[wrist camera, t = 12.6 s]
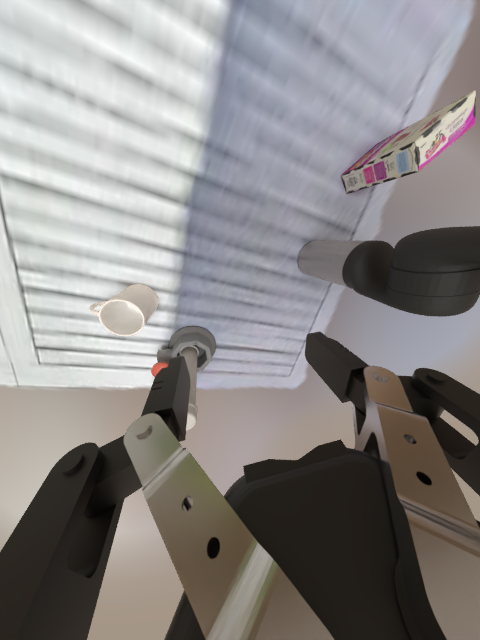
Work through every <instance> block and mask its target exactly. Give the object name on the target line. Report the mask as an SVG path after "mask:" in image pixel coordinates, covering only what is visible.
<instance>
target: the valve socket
mask: <svg viewBox="0 0 480 640" xmlns="http://www.w3.org/2000/svg"><path fill="white" fill-rule="evenodd" d="M191 345H197V346H198V348H199V355H198V357H197V371H201V370H203V369H204V368H205V367H206V366H207V365H208V364H209V363H210V362H211V360H212V356H213V354H214V352H215V349H216V343H215V339H214V337H213V335H212V334H211V333H210V332H209V331H208V330H206V329H205V328H202V327H199V326H187V327H184V328H181V329H179V330H178V331H176V332H175V333H174V334H173V336H172V337H171V339H170V342H169V349H163V350H159V351H158V353H157V360H158V363H156V364H155V365H154V366H153V367H152V370H151V372H152V375H153V376H154V377H155V376H156V375H157V373H158V372H159V371H160V370H161V369H162V368H166V367H168V364H169V360H170V358H173V357H179V356H180V350H181V349H182V348H183V347H185V346H191Z"/></svg>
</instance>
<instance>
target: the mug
mask: <svg viewBox="0 0 480 640" xmlns="http://www.w3.org/2000/svg"><path fill="white" fill-rule="evenodd" d="M158 304H159V301H158V297H157V295H156V293H155V292H154V291H153V290H152V289H151V288H149V287H147V286H145V285H141V284H134V285H130V286H128V287H127V288H126V289H125V290H124V291H123V292H121V293H120V294H118V295H117V296H115V297H113V298H112V299H110V300H109V301H103V302H98V303H95V304H93V305H91V306H90V312H91V313H93V314H95V315H99V320H100V322H101V324H102V325H103V327H104V328H105V329H107V330H108V331H109V332H111V333H113V334H116V335H119V336H131V335H134V334H136V333H138V332H139V331H141V329H142V328H143V327H144V325H145V324H146V322H147V321H148V319H149V318H150V316H151V315H152V313H153V312H155V310H156V309H157V307H158ZM101 305H102V306H101ZM97 306H101V308H100V310H99V311H96V310H94V309H93V308H95V307H97Z"/></svg>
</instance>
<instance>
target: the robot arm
mask: <svg viewBox="0 0 480 640" xmlns="http://www.w3.org/2000/svg"><path fill="white" fill-rule="evenodd" d="M298 265H299V268H300V270H301V271H302V272H303V273H305V274H308V275H311V276H314V277H317V278H320V279H323V280H327V281H330V282H333V283H336V284H339V285H343V286H346V287H349V288H353V289H354V290H355V291H356V292H357V293H359V294H361V295H364V296H366V297H369V298H371V299H374V300H376V301H379V302H381V303H383V304H386V305H388V306H391V307H394V308H397V309H399V310H402V311H406V312H409V313H414V314H419V315H425V316H452V315H458V314H461V313H464V312H466V311H468V310H469V309H470V308H472V307H473V306H474V304H475V303H476V301H477V300H478V297H479V295H480V226H474V227H449V228H439V229H431V230H425V231H420V232H417V233H413V234H410V235H408V236H406V237H404V238H402V239H401V240H400V241H399V242H398V243H397V244H396V246H395V248H393V247H392V246H391V245H390V244H388V243H387V242H384V241H312V242H309V243H307V244H306V245H305V246H304V247H303V248H302V250H301V251H300V254H299V257H298ZM305 357H306V360H307V361H308V363H309V364H310V365H311V366H312V367H313V369H314V370H315V371H316V372H317V373H318V375H319V376H320V377H321V378H322V379H323V380H324V382H325V383H326V384H327V385H328V386H329V387H330V389H331V390H332V391H333V392H334V394H336V396H337V397H338V398H339V399H340V401H341V402H342V403H344V402H348V401H352V403H353V407H352V409H353V421H354V432H355V448H354V449H350V448H346V447H345V445H344V444H343V442H342V441H341V440H337V441H334V442H330V443H326V444H323V445H319V446H317V447H316V448H314V449H313V450H312V451H310V452H309V453H307V454H306V455H305V456H303V457H302V458H300V459H299V460H275V459H268V460H265V461H261V462H257V463H253V464H249V465H246V466H243V467H244V474H245V475H244V476H242V477H241V478H239V479H238V480H237V481H236V482H235V483H234V484H233V485H232V486H231V487H230V489H229V490H228V491H227V492H226V494H225V495H224V497H223V496H222V494H221V493H220V492H219V490H218V489H217V488H216V486H215V485H214V484H213V482H212V481H211V480H210V479H209V477H208V476H207V474H206V473H205V472H204V470H203V469H202V468H201V466H200V465H199V464H198V463H197V461H196V460H195V459H194V457H193V456H192V455H191V453H190V452H189V451H188V450H187V449H186V448H183V447H182V446H181V444H180V443H179V441H183V440H185V435H186V425H187V415H188V405H189V395H190V384H191V383H190V375H189V371H188V368H187V364H186V361H185V357H184V356H179V357H173V358H170V360H169V364H168V367H166V368H162V369H161V370H160V371H159V372H158V373H157V375H156V376H155V379H154V382H153V385H152V387H151V391H150V393H149V396H148V398H147V401H146V404H145V407H144V409H143V412H142V415H141V417H140V418H138V419H137V420H135V421H134V422H133V423H132V424H131V425H130V426H129V428H128V429H127V431H126V433H125V435H123V436H122V437H120V438H118V439H116V440H114V441H112V442H110V443H108V444H106V445H104V446H102V447H100V448H99V447H98V446H97V445H96V444H95V443H85V444H82V445H80V446H78V447H76V448H74V449H72V450H71V451H69V452H68V453H67V454H66V455H64V456H63V457H62V458H61V459H60V460H59V461H58V462H57V463H56V464H55V466H54V467H53V468H52V470H51V471H50V473H49V474H48V476H47V478H46V479H45V481H44V483H43V484H42V486H41V487H40V489H39V491H38V492H37V494H36V495H35V497H34V499H33V500H32V502H31V504H30V505H29V507H28V508H27V510H26V512H25V513H24V515H23V516H22V518H21V520H20V521H19V523H18V525H17V526H16V528H15V529H14V531H13V533H12V535H11V536H10V537H9V539H8V541H7V542H6V544H5V546H4V547H3V549H2V550H1V552H0V640H87V637H88V633H89V629H90V626H91V622H92V618H93V614H94V611H95V607H96V603H97V599H98V596H99V591H100V588H101V584H102V580H103V577H104V573H105V569H106V565H107V562H108V558H109V554H110V550H111V546H112V543H113V539H114V535H115V532H116V528H117V524H118V520H119V517H120V513H121V509H122V505H123V502H124V498H126V497H127V496H129V495H131V494H132V493H134V492H135V491H137V490H138V489H140V488H141V487H143V494H144V496H145V499H146V501H147V503H148V506H149V508H150V511H151V513H152V515H153V518H154V520H155V522H156V525H157V527H158V529H159V532H160V534H161V536H162V539H163V541H164V543H165V546H166V548H167V550H168V553H169V555H170V557H171V560H172V562H173V564H174V567H175V569H176V571H177V574H178V576H179V578H180V581H181V583H182V585H183V588H184V593H183V595H182V597H181V600H180V602H179V605H178V607H177V610H176V612H175V615H174V617H173V620H172V622H171V625H170V627H169V630H168V632H167V634H166V637H165V640H480V522H479V521H477V520H476V519H475V518H474V516H473V514H472V512H471V509H470V507H469V505H468V503H467V501H466V499H465V497H464V495H463V493H462V490H461V488H460V487H459V484H458V482H457V480H456V478H455V476H454V474H453V472H452V470H451V468H452V469H453V470H454V471H455V472H456V473H457V474H458V475H459V476H460V477H461V478H462V479H463V480H464V481H465V482H466V483H467V484H468V485H469V486H470V487H471V488H472V489H473V490H474V491H475V492H476V493H477V494H478V495H479V496H480V394H478V393H476V392H475V391H473V390H471V389H470V388H468V387H466V386H464V385H463V384H461V383H460V382H458V381H456V380H454V379H453V378H451V377H449V376H448V375H446V374H444V373H441V372H439V371H436V370H432V369H428V368H419V369H416V370H415V372H414V374H413V376H397V375H395V374H394V373H393V372H391V371H389V370H387V369H385V368H382V367H378V366H369V365H367V364H366V363H365V362H364V361H362V360H361V359H360V358H358V357H357V356H356V355H354V354H353V353H352V352H349V350H348V349H347V348H345V347H344V346H343V345H341V344H340V343H339V342H338V341H335V340H333V339H331V338H328V337H326V336H325V335H324V334H323V333H321V332H315V333H310V334H308V335H307V339H306V348H305ZM444 409H445V410H446V411H448V412H449V413H450V414H452V415H453V416H454V417H456V418H457V419H458V420H460V421H461V422H462V423H464V424H465V425H466V426H468V427H469V428H470V429H472V430H473V431H474V432H475V434H476V435H477V437H478V439H479V443H478V444H477V445H476V446H475V445H474V444H473V443H472V442H470V441H469V440H468V439H467V438H465V437H464V436H463V435H462V434H460V433H459V432H458V431H457V430H455V429H454V428H453V427H451V426H450V425H449V424H448V423H446V422H445V421H444V420H443V419H442V418H440V415H441V414H442V412H443V411H444Z"/></svg>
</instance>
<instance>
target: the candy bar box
mask: <svg viewBox="0 0 480 640" xmlns="http://www.w3.org/2000/svg"><path fill="white" fill-rule="evenodd" d="M475 100H476V91H473V92H471V93H470V94H468V95H466V96H464V97H462V98H460V99H459V100H457V101H455V102H453V103H451V104H450V105H448V106H446V107H444V108H442V109H440V110H438V111H436V112H435V113H433V114H431V115H429V116H427V117H425V118H423V119H422V120H420V121H418V122H416V123H414V124H412V125H410V126H409V127H407V128H405V129H403V130H401V131H399V132H398V133H396V134H394V135H392V136H390V137H388V138H387V139H385V140H383V141H381V142H379V143H378V144H377V145H375V146H374V147H373V148H372V149H371V150H370V151H369V152H368V153H366V154H365V155H364V156H363V157H362V158H361V159H360V160H358V161H357V162H356V163H355V164H354V165H353V166H352V167H350V168H349V169H348V170H347V171H346V172H345V173H343V174H342V175H341V177H342V180H343V183H344V186H345V190H346V192H347V194H348V193H351V192H355V191H358V190H361V189H364V188H367V187H371V186H374V185H377V184H380V183H384V182H387V181H390V180H393V179H396V178H400V177H403V176H406V175H409V174H412V173H415V172H419V171H420V170H421V169H422V168H424V167H425V166H426V165H427V164H428V163H429V162H431V161H432V160H433V159H434V158H435V157H437V156H438V155H439V154H440V153H441V152H443V151H444V150H445V149H446V148H447V147H449V146H450V145H451V144H452V143H453V142H455V141H456V140H457V139H458V138H459V137H460V136H462V135H463V134H464V133H465V132H467V131H468V130H469V129H470V128H471V127H473V126H474V125H475Z"/></svg>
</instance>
